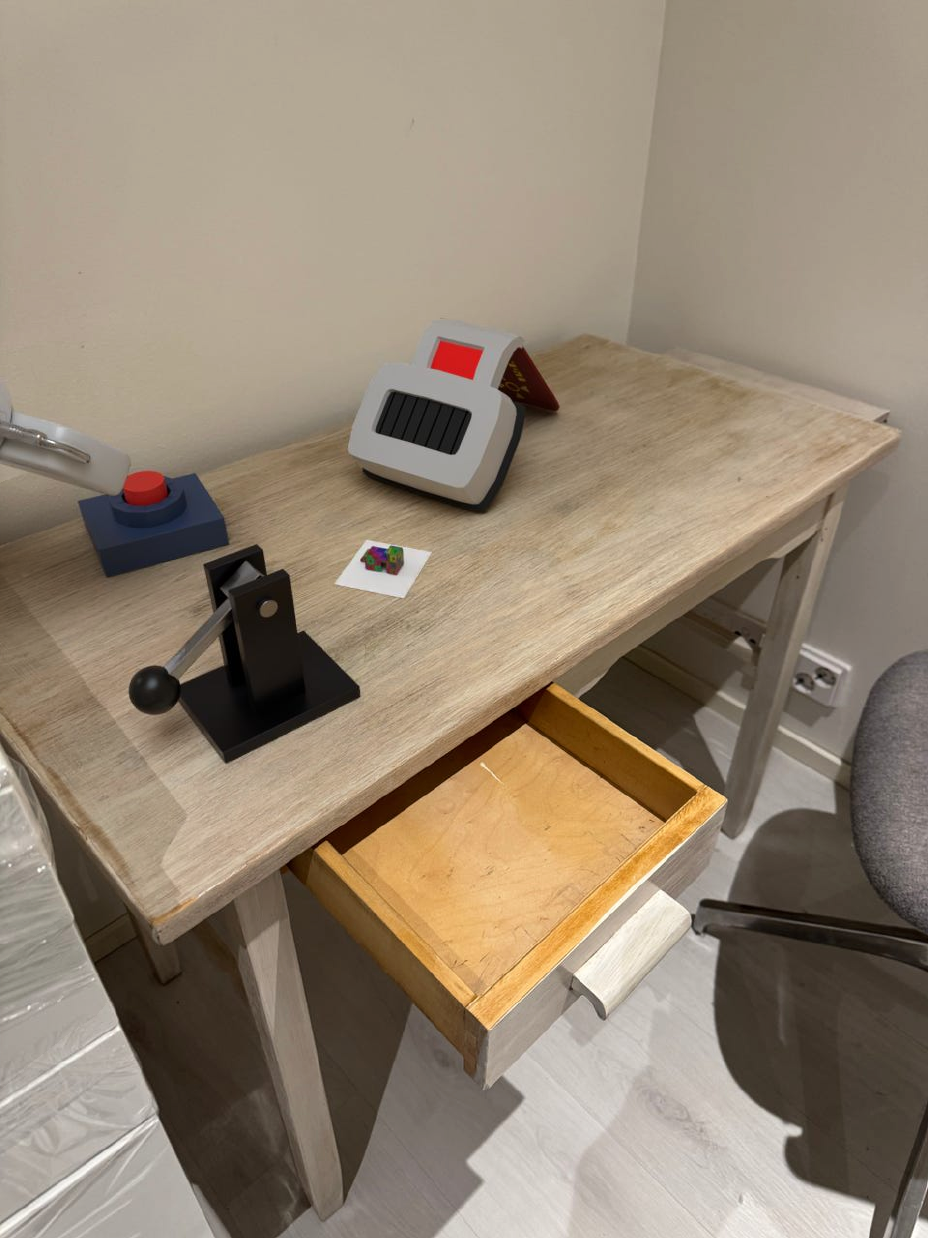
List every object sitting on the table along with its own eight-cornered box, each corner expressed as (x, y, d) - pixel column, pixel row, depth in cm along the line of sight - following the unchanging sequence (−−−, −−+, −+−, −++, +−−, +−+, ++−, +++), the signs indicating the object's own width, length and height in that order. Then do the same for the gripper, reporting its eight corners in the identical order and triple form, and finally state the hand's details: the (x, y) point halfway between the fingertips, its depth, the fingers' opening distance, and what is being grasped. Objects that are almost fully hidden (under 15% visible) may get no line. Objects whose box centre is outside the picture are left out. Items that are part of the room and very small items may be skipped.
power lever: (164, 731, 65) (129, 713, 62) (145, 704, 67) (110, 685, 64) (288, 598, 66) (259, 574, 63) (265, 575, 68) (236, 551, 65)
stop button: (130, 510, 86) (126, 495, 85) (121, 491, 88) (117, 476, 87) (172, 500, 87) (169, 484, 86) (162, 482, 90) (158, 466, 89)
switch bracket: (225, 764, 67) (195, 632, 59) (175, 697, 72) (141, 569, 64) (360, 696, 73) (349, 568, 65) (305, 640, 78) (288, 515, 70)
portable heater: (396, 287, 95) (540, 318, 89) (475, 384, 118) (594, 414, 112) (329, 456, 95) (469, 500, 88) (422, 520, 118) (538, 558, 111)
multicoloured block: (407, 558, 88) (406, 538, 86) (396, 574, 86) (395, 554, 84) (367, 551, 89) (366, 530, 87) (356, 566, 87) (354, 546, 85)
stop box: (106, 577, 85) (93, 533, 82) (85, 527, 92) (72, 485, 89) (229, 544, 90) (221, 501, 86) (200, 498, 96) (192, 457, 93)
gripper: (68, 399, 63) (183, 461, 76) (-133, 349, 69) (4, 414, 83) (38, 483, 63) (159, 531, 76) (-161, 425, 69) (-19, 478, 82)
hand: (77, 470), depth 79 cm, fingers closed
